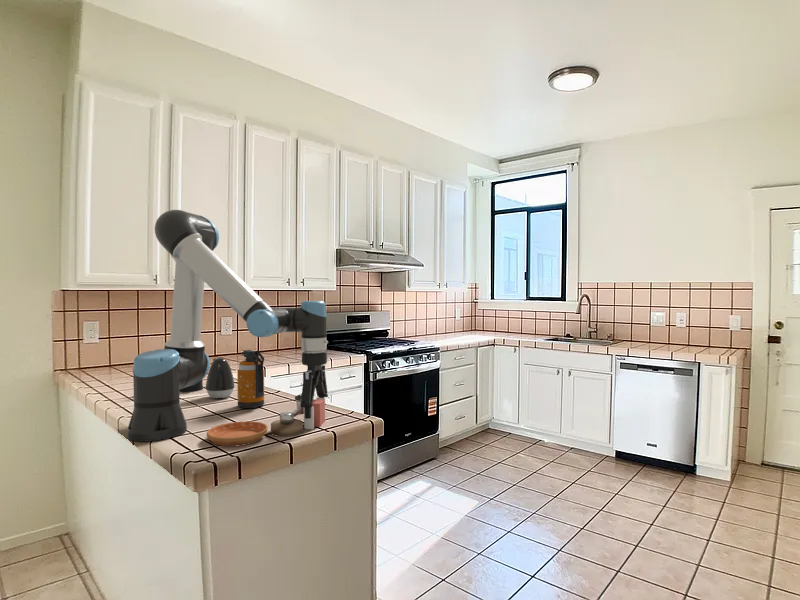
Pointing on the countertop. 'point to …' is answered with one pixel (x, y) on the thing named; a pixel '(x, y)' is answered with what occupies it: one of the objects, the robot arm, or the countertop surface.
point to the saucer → (237, 433)
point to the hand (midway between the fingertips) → (315, 423)
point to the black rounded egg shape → (219, 379)
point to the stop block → (319, 412)
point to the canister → (251, 380)
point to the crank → (289, 416)
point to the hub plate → (286, 428)
